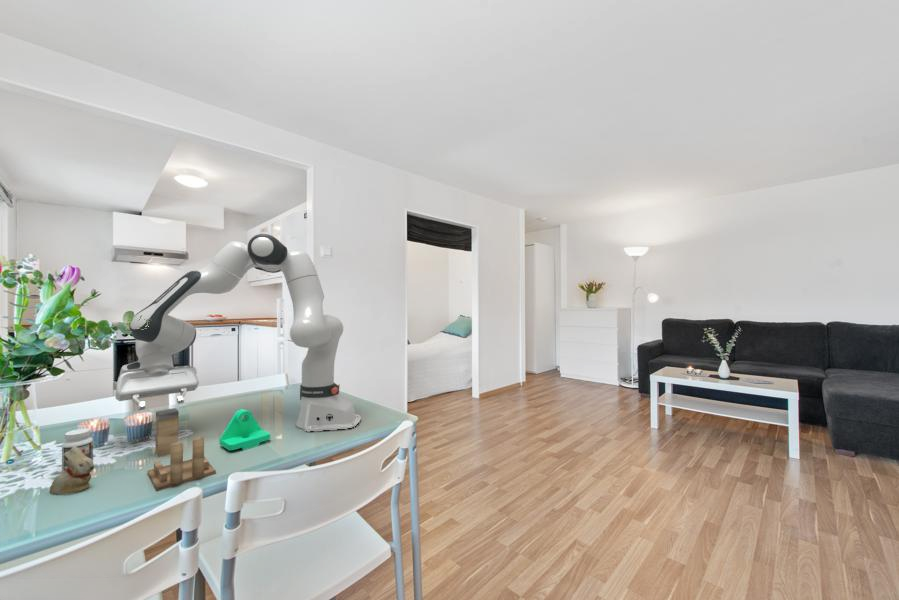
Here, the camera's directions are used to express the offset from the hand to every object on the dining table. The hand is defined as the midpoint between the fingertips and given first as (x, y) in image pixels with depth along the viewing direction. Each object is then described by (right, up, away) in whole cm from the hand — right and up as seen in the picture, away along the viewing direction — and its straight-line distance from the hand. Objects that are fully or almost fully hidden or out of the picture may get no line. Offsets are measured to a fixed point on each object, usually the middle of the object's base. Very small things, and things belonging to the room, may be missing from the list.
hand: (162, 405), depth 111 cm
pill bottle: (-10, -12, -16) cm, 22 cm away
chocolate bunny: (-1, -12, -25) cm, 28 cm away
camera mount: (+24, -13, +2) cm, 28 cm away
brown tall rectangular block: (+5, -12, -5) cm, 14 cm away
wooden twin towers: (+18, -12, -17) cm, 28 cm away
